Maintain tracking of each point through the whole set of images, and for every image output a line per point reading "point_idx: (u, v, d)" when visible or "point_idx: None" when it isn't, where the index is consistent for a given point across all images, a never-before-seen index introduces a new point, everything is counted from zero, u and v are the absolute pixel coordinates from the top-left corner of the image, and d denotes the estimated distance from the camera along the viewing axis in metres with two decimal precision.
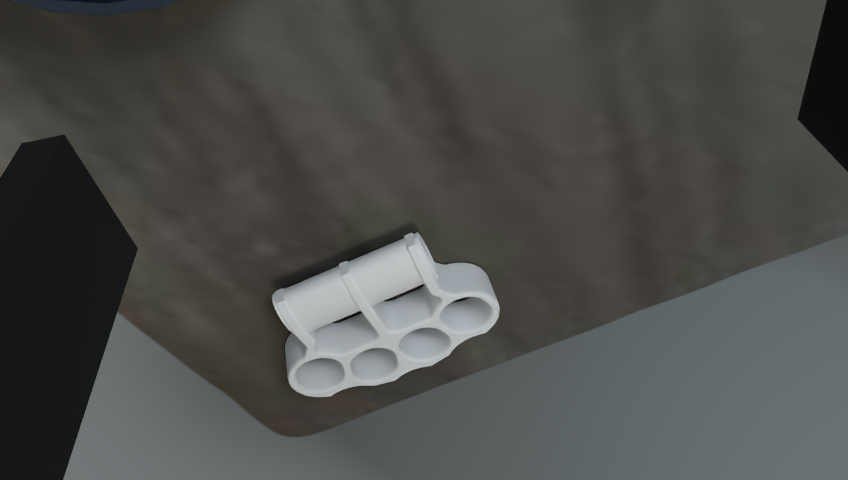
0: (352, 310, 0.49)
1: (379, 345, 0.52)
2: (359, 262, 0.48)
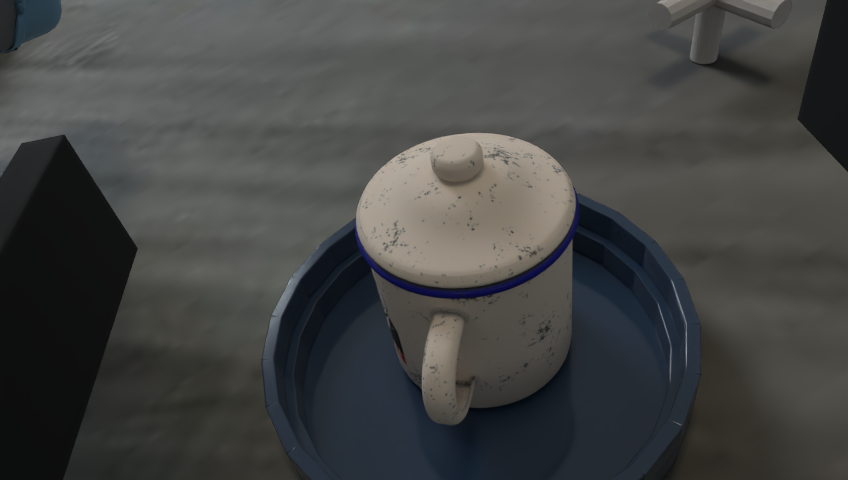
0: None
1: None
2: None
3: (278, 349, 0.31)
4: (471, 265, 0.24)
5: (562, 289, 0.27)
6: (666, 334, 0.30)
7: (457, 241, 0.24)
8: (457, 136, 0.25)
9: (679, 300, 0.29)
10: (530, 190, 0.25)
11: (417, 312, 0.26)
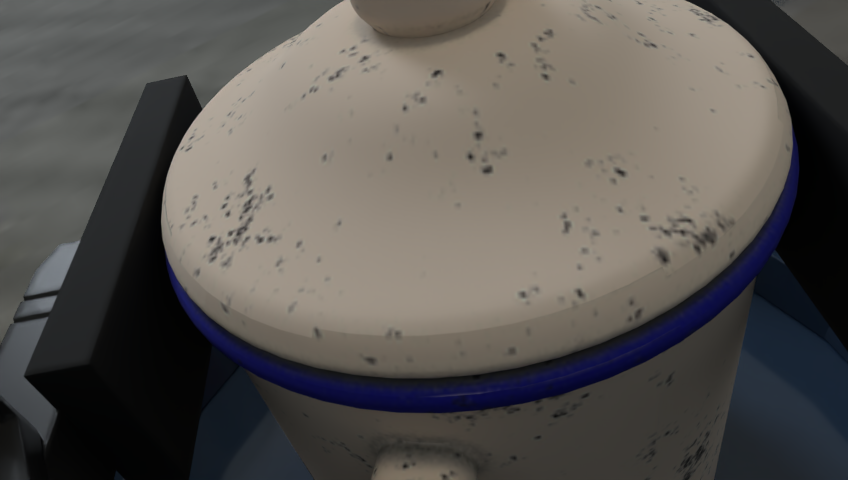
0: None
1: None
2: None
3: None
4: (490, 293, 0.07)
5: (740, 345, 0.10)
6: None
7: (439, 214, 0.07)
8: None
9: None
10: (654, 53, 0.08)
11: (333, 441, 0.09)
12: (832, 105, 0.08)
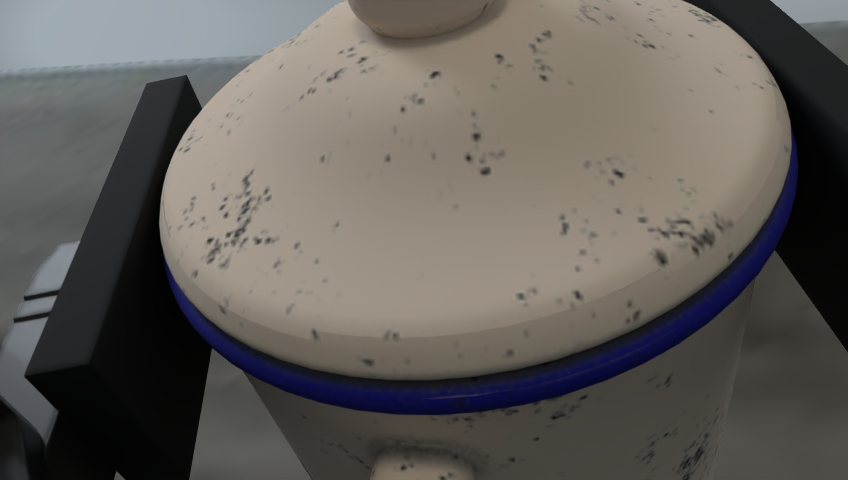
0: None
1: None
2: None
3: None
4: (488, 295, 0.07)
5: (739, 346, 0.10)
6: None
7: (436, 216, 0.07)
8: None
9: None
10: (653, 54, 0.08)
11: (332, 444, 0.09)
12: (832, 105, 0.08)
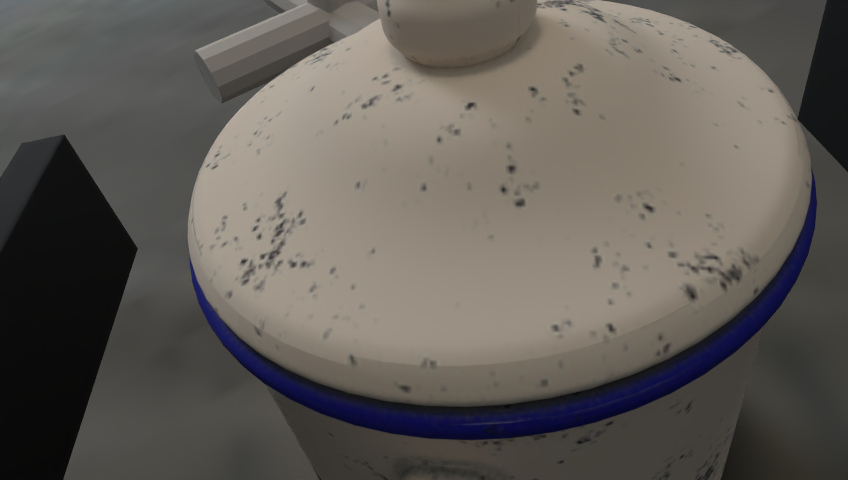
0: None
1: None
2: None
3: None
4: (524, 325, 0.07)
5: (751, 369, 0.10)
6: None
7: (471, 245, 0.07)
8: None
9: None
10: (679, 88, 0.09)
11: (357, 460, 0.09)
12: None
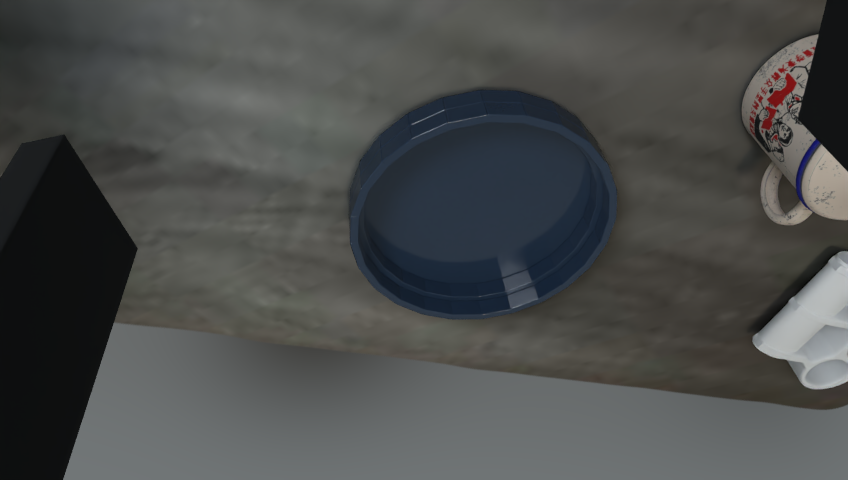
0: (821, 326, 0.61)
1: None
2: (803, 295, 0.59)
3: None
4: None
5: None
6: (590, 221, 0.51)
7: None
8: None
9: (605, 230, 0.49)
10: None
11: None
12: None
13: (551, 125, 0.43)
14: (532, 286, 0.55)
